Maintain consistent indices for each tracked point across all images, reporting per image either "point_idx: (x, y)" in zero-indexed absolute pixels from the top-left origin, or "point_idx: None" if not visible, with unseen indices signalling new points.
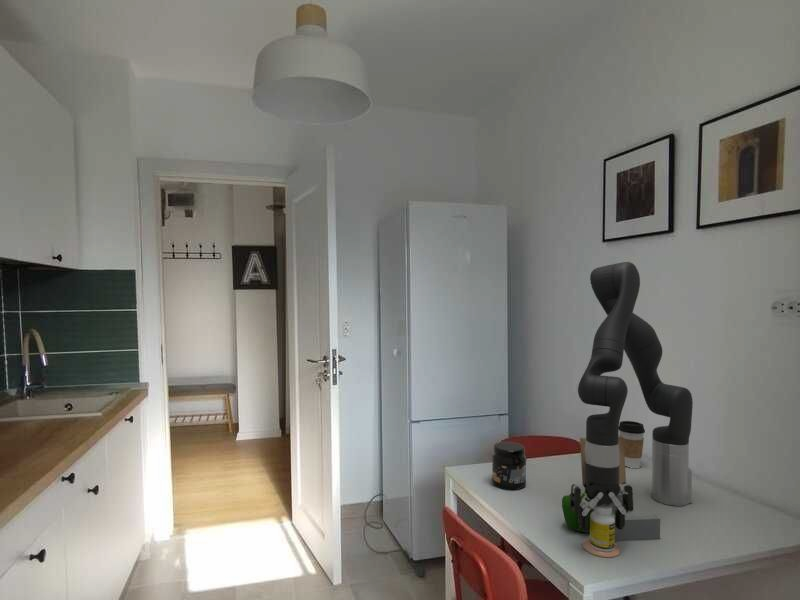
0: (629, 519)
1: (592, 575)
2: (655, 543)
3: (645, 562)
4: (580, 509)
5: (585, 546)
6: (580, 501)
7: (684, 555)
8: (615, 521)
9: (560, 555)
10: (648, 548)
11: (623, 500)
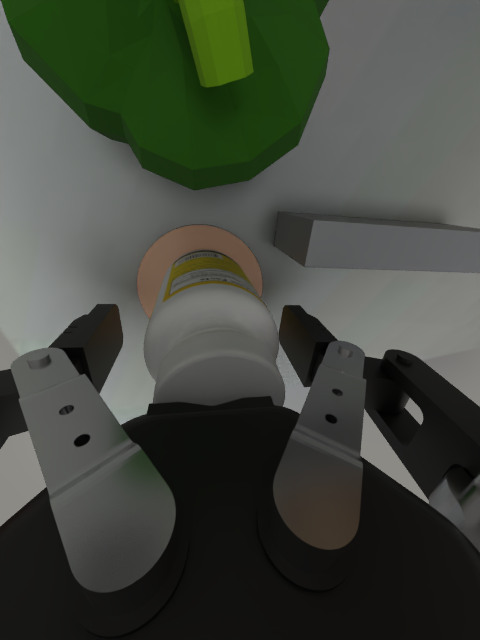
0: (387, 265)
1: (112, 406)
2: (393, 276)
3: (286, 362)
4: (15, 432)
5: (142, 283)
6: (160, 47)
7: (404, 339)
8: (291, 315)
9: (28, 316)
10: (349, 301)
11: (408, 391)
